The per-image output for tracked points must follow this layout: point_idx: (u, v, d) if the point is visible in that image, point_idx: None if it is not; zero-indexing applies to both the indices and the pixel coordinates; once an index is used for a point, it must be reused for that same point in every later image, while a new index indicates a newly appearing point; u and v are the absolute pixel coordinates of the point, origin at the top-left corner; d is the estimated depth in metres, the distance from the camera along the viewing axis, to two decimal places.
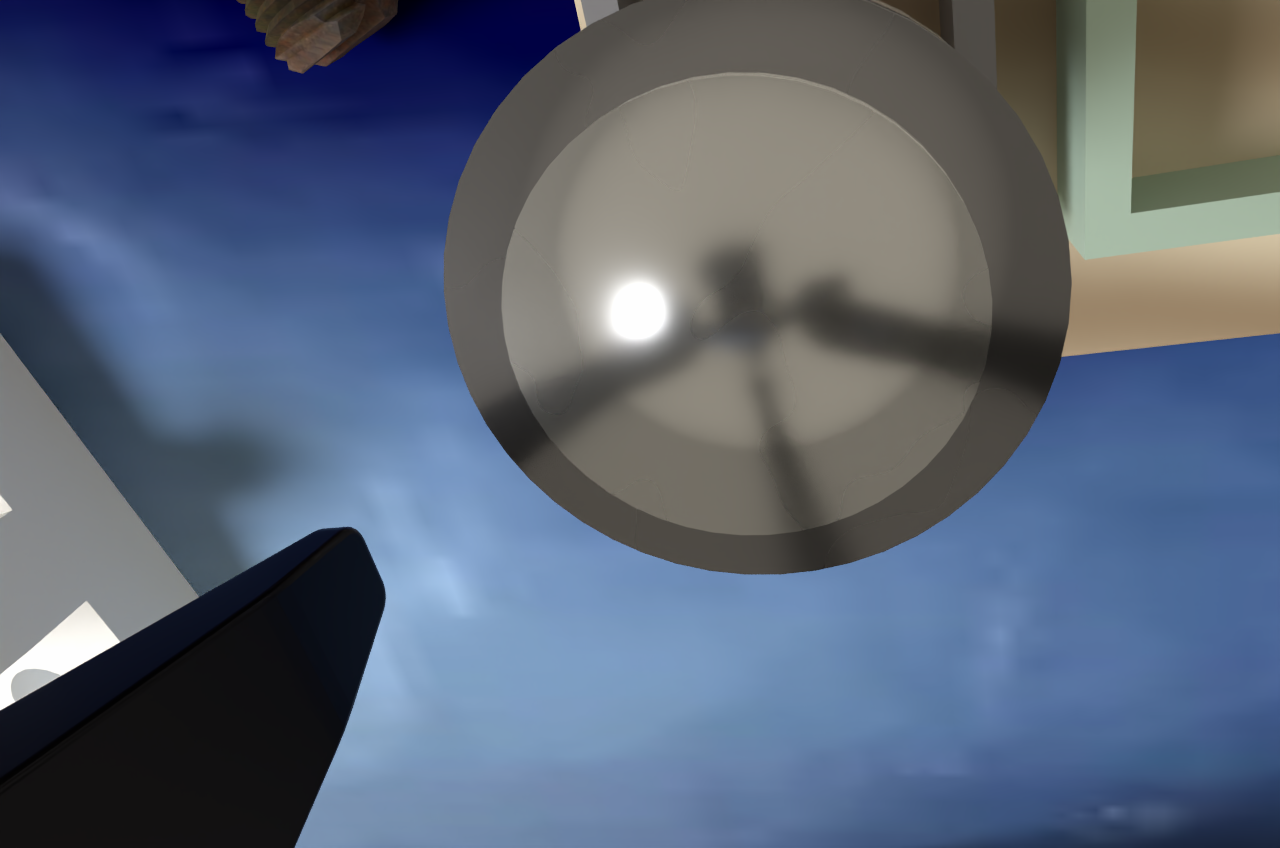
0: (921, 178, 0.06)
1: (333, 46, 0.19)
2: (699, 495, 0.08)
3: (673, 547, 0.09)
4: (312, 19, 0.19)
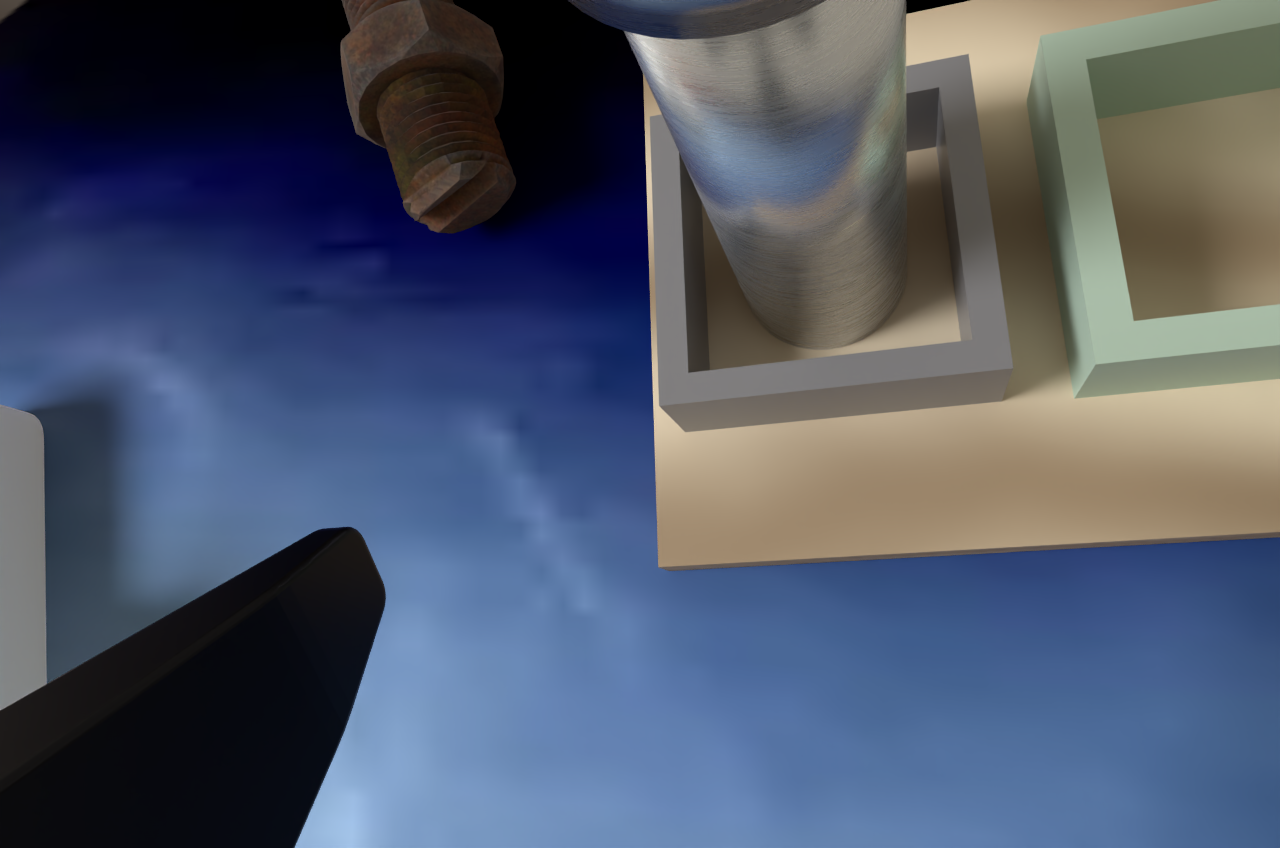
0: None
1: (451, 186, 0.24)
2: None
3: None
4: (443, 160, 0.24)
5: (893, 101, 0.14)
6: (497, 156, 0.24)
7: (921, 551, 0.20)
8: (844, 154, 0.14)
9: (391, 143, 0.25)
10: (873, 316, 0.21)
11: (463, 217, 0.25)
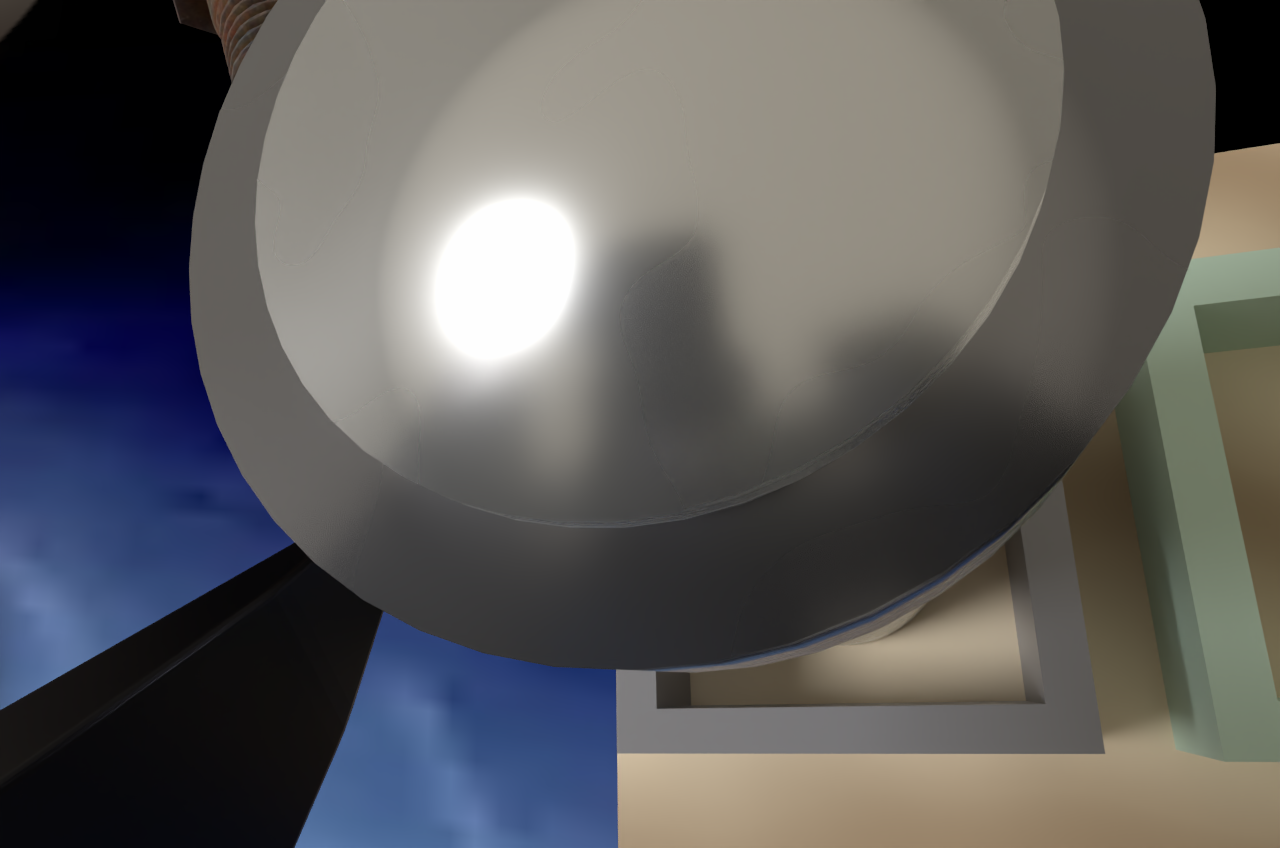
0: None
1: None
2: (491, 422, 0.04)
3: (423, 586, 0.04)
4: None
5: None
6: None
7: None
8: None
9: None
10: (904, 621, 0.16)
11: None
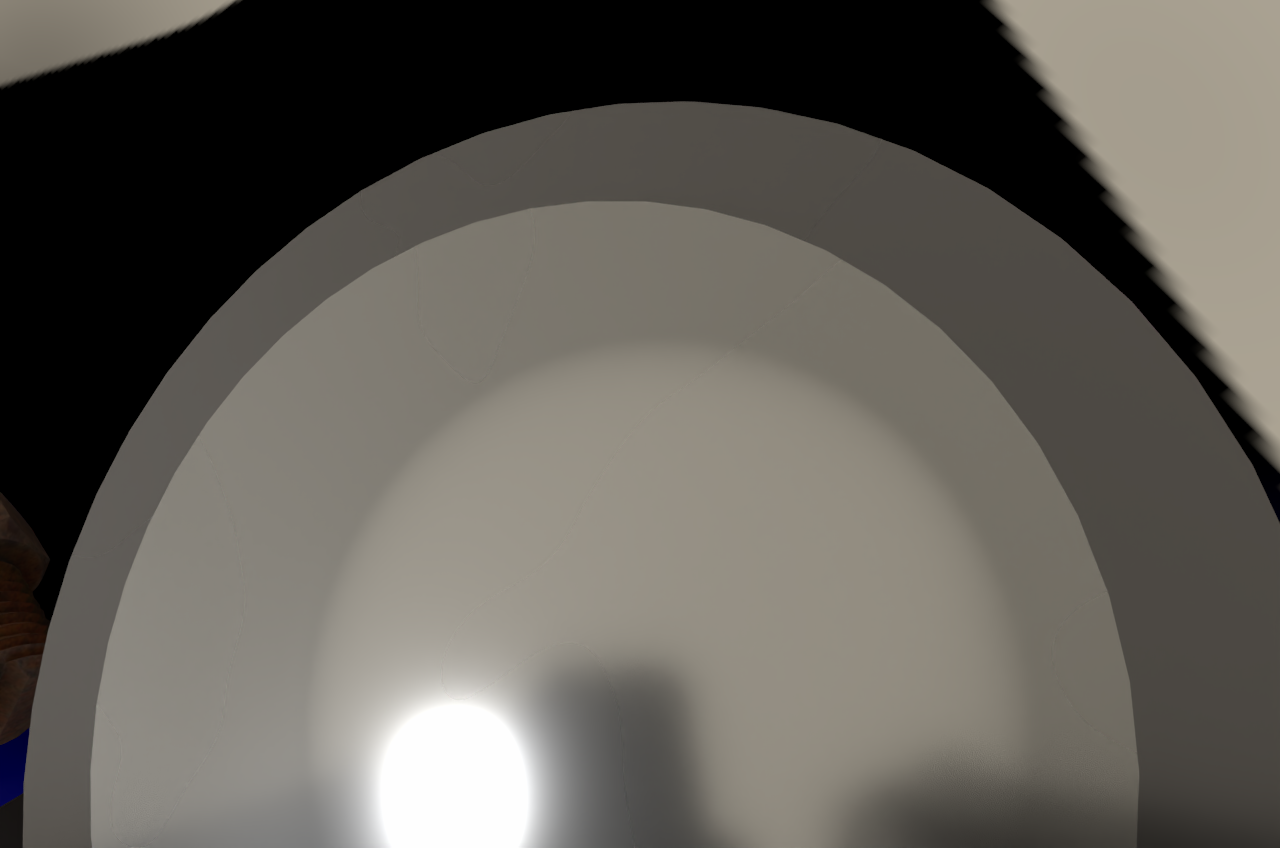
0: (936, 382, 0.03)
1: None
2: None
3: None
4: None
5: None
6: (19, 648, 0.20)
7: None
8: None
9: None
10: None
11: (15, 721, 0.21)
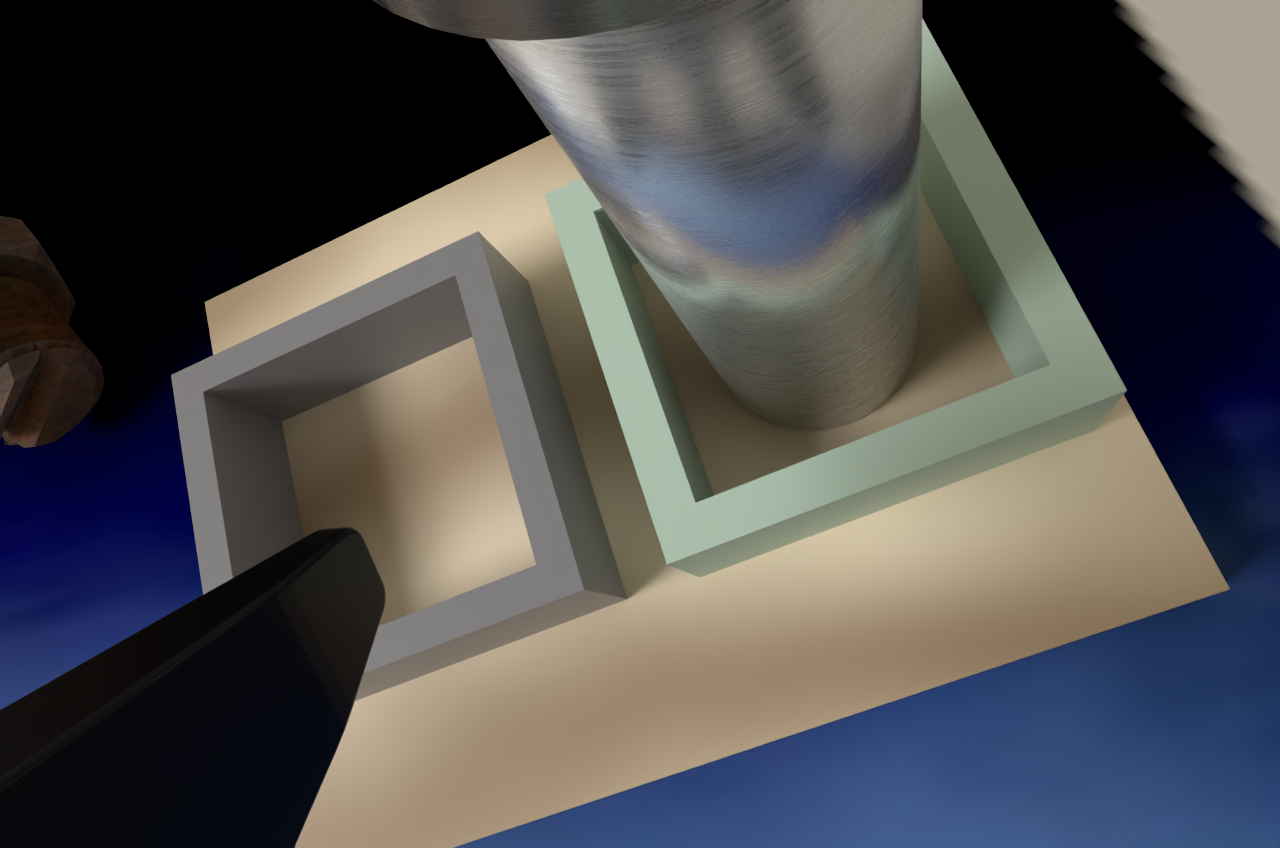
0: None
1: (10, 391, 0.21)
2: None
3: None
4: None
5: (903, 130, 0.09)
6: (56, 341, 0.22)
7: (578, 804, 0.17)
8: (829, 210, 0.09)
9: None
10: (876, 393, 0.16)
11: (54, 419, 0.22)
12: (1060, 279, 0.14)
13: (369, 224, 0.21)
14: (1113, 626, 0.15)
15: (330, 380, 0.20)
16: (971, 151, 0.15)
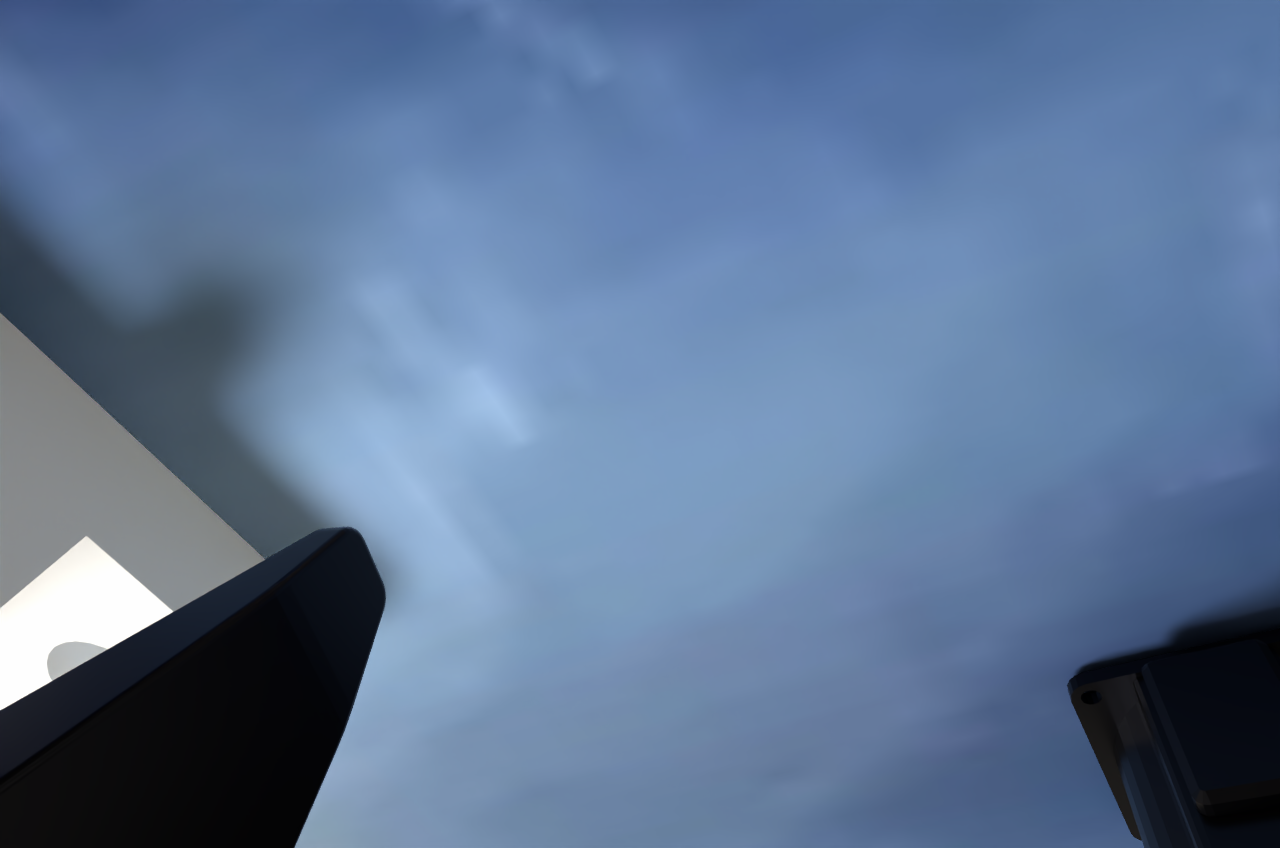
0: None
1: None
2: None
3: None
4: None
5: None
6: None
7: None
8: None
9: None
10: None
11: None
12: None
13: None
14: None
15: None
16: None
